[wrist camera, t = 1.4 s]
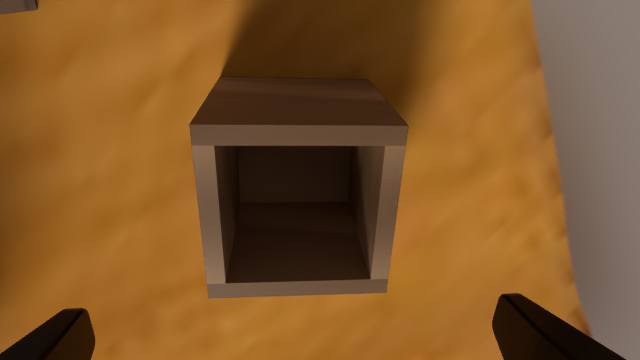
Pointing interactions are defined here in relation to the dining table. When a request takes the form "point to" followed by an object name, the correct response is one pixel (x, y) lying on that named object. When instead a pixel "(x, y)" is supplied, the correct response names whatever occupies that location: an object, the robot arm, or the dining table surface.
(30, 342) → the robot arm
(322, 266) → the walnut crate
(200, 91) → the dining table surface
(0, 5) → the grey crate
